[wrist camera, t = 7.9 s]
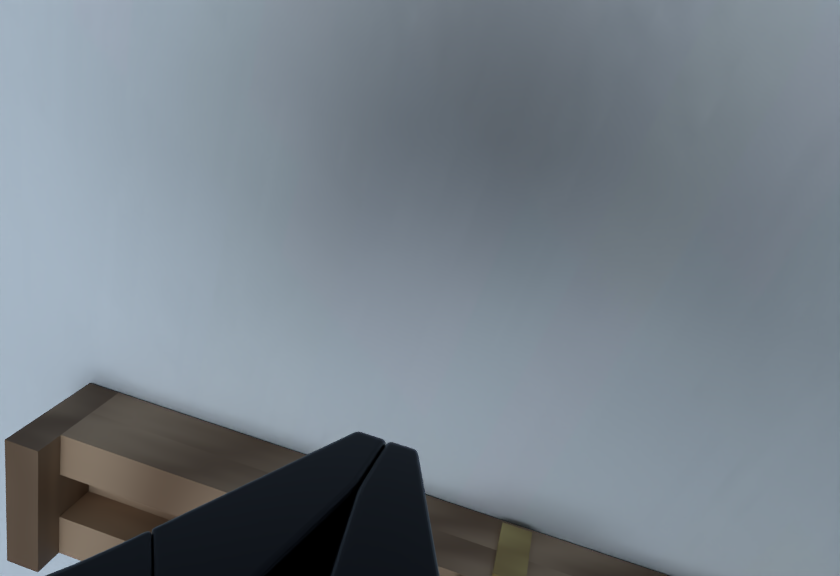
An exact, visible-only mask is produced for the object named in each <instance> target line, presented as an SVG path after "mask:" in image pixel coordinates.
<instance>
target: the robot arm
mask: <svg viewBox="0 0 840 576" xmlns="http://www.w3.org/2000/svg"><path fill="white" fill-rule="evenodd" d="M46 576H440V575H439V570H438V564H437V558H436V553H435V547H434V541H433V536H432V530H431V524H430V518H429V513H428V507H427V501H426V496H425V490H424V484H423V479H422V473H421V467H420V462H419V456H418V453H417V451H416V450H414V449H412V448H409V447H406V446H402V445H399V444H396V443H393V442H390V443H387V444H385V441H384V440H383V439H380V438H377V437H374V436H371V435H368V434H365V433H362V432H355V433H352V434H350V435H348V436H346V437H344V438H342V439H340V440H337V441H335V442H333V443H331V444H329V445H327V446H325V447H323V448H321V449H319V450H316V451H314V452H312V453H310V454H308V455H306V456H304V457H302V458H300V459H298V460H295V461H293V462H291V463H289V464H287V465H285V466H283V467H281V468H279V469H277V470H274V471H272V472H270V473H268V474H266V475H264V476H262V477H260V478H258V479H256V480H254V481H251V482H249V483H247V484H245V485H243V486H241V487H239V488H237V489H235V490H233V491H230V492H228V493H226V494H224V495H222V496H220V497H218V498H216V499H214V500H212V501H209V502H207V503H205V504H203V505H201V506H199V507H197V508H195V509H193V510H191V511H188V512H186V513H184V514H182V515H180V516H178V517H176V518H174V519H172V520H170V521H167V522H165V523H163V524H161V525H159V526H157V527H155V528H153V530H152V533H151V532H149V531H146V532H144V533H142V534H140V535H137V536H135V537H133V538H131V539H129V540H127V541H125V542H123V543H121V544H119V545H116V546H114V547H112V548H110V549H107V550H105V551H103V552H101V553H98V554H96V555H94V556H92V557H89V558H87V559H85V560H83V561H80V562H78V563H76V564H74V565H71V566H69V567H66V568H64V569H61V570H59V571H56V572H54V573H51V574H48V575H46Z"/></svg>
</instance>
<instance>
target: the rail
mask: <svg viewBox="0 0 840 576" xmlns="http://www.w3.org/2000/svg"><path fill="white" fill-rule="evenodd" d="M304 456H306V455H305V454H302V453H299V452H296V451H293V450H290V449H287V448H284V447H281V446H278V445H275V444H272V443H269V442H266V441H263V440H260V439H257V438H254V437H251V436H248V435H245V434H242V433H239V432H236V431H233V430H230V429H227V428H224V427H221V426H218V425H215V424H212V423H209V422H206V421H203V420H200V419H197V418H193V417H190V416H187V415H184V414H181V413H178V412H175V411H172V410H169V409H166V408H163V407H160V406H157V405H154V404H151V403H148V402H145V401H142V400H139V399H136V398H133V397H130V396H127V395H124V394H121V393H118V392H115V391H112V390H109V389H106V388H103V387H100V386H97V385H94V384H91V383H89V384H88V385H86V386H85V387H83V388H82V389H80V390H79V391H77V392H76V393H74V394H73V395H71V396H70V397H68V398H67V399H65V400H64V401H62V402H61V403H59V404H58V405H56V406H55V407H53V408H52V409H50V410H49V411H47V412H46V413H44V414H43V415H41V416H40V417H38V418H37V419H35V420H34V421H32V422H31V423H29V424H28V425H26V426H25V427H23V428H22V429H20V430H19V431H17V432H16V433H14V434H13V435H11V436H10V437H8V438H7V439H5V468H6V518H7V561H10V562H13V563H15V564H18V565H20V566H23V567H26V568H28V569H31V570H33V571H36V572H39V571H40V570H41V569H42V568H43V567H44V566H45V565H46V564H47V563H48V562H49V561H50V560H51V559H52V558H53V557H55V556H56V555H57V554H58V553H62V554H64V555H67V556H70V557H72V558H75V559H78V560H80V561H83V560H85V559H87V558H89V557H92V556H94V555H96V554H98V553H101V552H103V551H105V550H107V549H110V548H112V547H114V546H116V545H119V544H121V543H123V542H125V541H127V540H129V539H131V538H133V537H135V536H137V535H140V534H142V533H144V532H146V531H149V532H151V533H152V530H153V528H155V527H157V526H159V525H161V524H163V523H165V522H167V521H170V520H172V519H174V518H176V517H178V516H180V515H182V514H184V513H186V512H188V511H191V510H193V509H195V508H197V507H199V506H201V505H203V504H205V503H207V502H209V501H212V500H214V499H216V498H218V497H220V496H222V495H224V494H226V493H228V492H230V491H233V490H235V489H237V488H239V487H241V486H243V485H245V484H247V483H249V482H251V481H254V480H256V479H258V478H260V477H262V476H264V475H266V474H268V473H270V472H272V471H274V470H277V469H279V468H281V467H283V466H285V465H287V464H289V463H291V462H293V461H295V460H298V459H300V458H302V457H304ZM425 496H426V501H427V507H428V513H429V518H430V524H431V530H432V536H433V541H434V547H435V553H436V558H437V564H438V570H439V575H440V576H668V575H665V574H662V573H659V572H656V571H653V570H650V569H647V568H644V567H641V566H638V565H635V564H632V563H629V562H626V561H623V560H620V559H617V558H614V557H611V556H608V555H605V554H602V553H599V552H596V551H593V550H590V549H587V548H584V547H581V546H578V545H575V544H572V543H569V542H566V541H563V540H560V539H557V538H554V537H551V536H548V535H545V534H542V533H539V532H536V531H533V530H530V529H527V528H524V527H521V526H518V525H515V524H512V523H509V522H506V521H503V520H500V519H497V518H494V517H491V516H488V515H485V514H482V513H479V512H476V511H473V510H470V509H467V508H464V507H461V506H458V505H455V504H452V503H449V502H446V501H443V500H440V499H437V498H434V497H431V496H428V495H425Z"/></svg>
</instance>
